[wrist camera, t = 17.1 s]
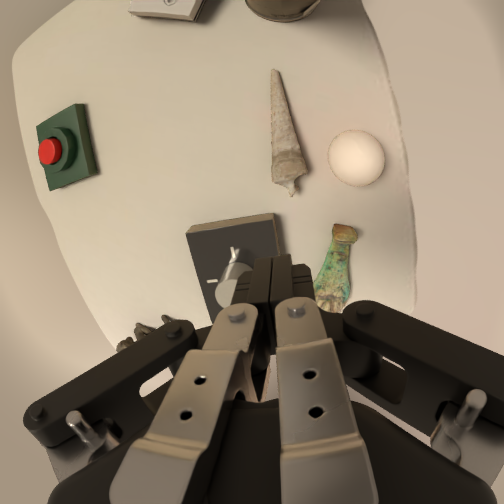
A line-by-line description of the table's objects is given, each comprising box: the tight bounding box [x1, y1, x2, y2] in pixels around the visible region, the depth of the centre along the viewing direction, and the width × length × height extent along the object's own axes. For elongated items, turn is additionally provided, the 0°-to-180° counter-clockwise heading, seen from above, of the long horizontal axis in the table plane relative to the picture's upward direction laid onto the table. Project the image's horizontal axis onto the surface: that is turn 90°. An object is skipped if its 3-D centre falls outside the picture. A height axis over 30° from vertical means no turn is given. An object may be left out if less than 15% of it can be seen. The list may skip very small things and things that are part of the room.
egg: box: [328, 130, 385, 186], centre depth 30 cm, size 6×6×8 cm
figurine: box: [313, 224, 358, 313], centre depth 38 cm, size 6×15×4 cm, turn 167°
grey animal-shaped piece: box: [116, 315, 170, 352], centre depth 44 cm, size 12×6×7 cm, turn 108°
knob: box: [215, 262, 253, 308], centre depth 36 cm, size 4×4×5 cm
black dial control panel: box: [185, 213, 280, 324], centre depth 39 cm, size 14×11×3 cm
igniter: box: [36, 104, 98, 191], centre depth 34 cm, size 11×9×4 cm
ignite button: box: [39, 138, 62, 164], centre depth 32 cm, size 4×4×2 cm
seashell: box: [271, 69, 307, 197], centre depth 31 cm, size 4×16×4 cm, turn 11°
